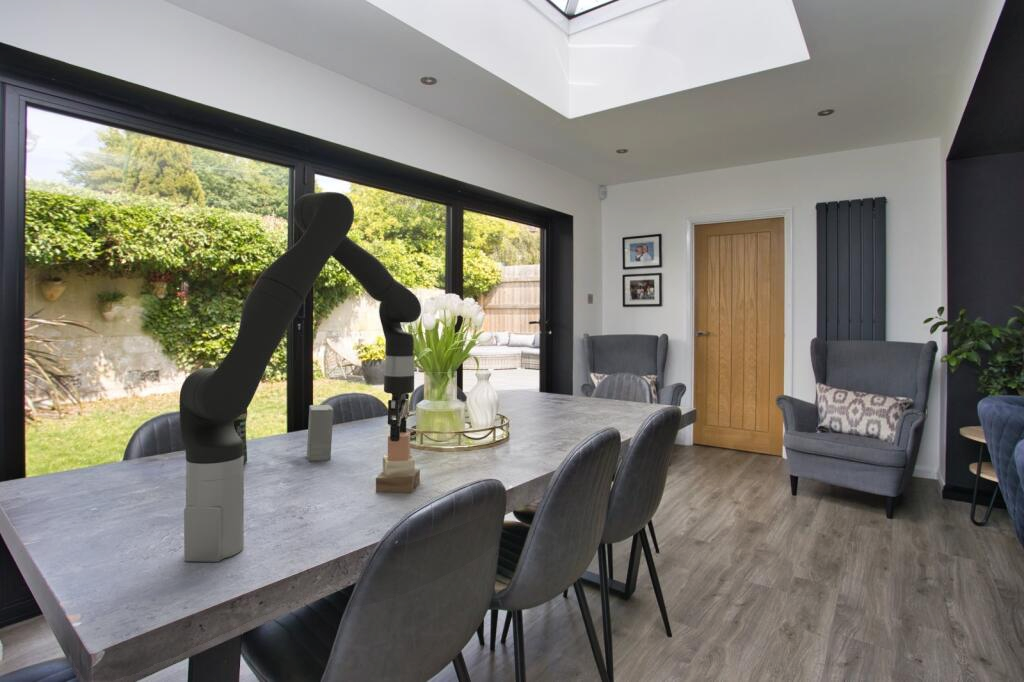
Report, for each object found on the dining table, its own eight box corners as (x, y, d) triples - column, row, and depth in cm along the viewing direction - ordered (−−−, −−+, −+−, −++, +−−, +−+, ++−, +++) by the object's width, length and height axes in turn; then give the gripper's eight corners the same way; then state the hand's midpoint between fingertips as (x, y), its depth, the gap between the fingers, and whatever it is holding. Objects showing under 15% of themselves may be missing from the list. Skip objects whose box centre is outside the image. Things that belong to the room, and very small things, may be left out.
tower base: (411, 494, 136) (411, 478, 136) (375, 493, 137) (375, 477, 136) (419, 484, 145) (419, 469, 145) (385, 483, 146) (385, 468, 145)
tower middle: (414, 475, 139) (414, 460, 138) (386, 478, 136) (386, 462, 136) (409, 468, 145) (409, 453, 145) (382, 471, 143) (382, 455, 143)
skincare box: (306, 455, 172) (306, 405, 171) (330, 453, 175) (330, 403, 174) (308, 462, 164) (308, 409, 163) (333, 460, 167) (333, 407, 166)
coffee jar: (232, 471, 153) (232, 404, 152) (205, 469, 154) (205, 403, 153) (252, 462, 163) (252, 399, 162) (227, 461, 164) (227, 398, 163)
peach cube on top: (407, 460, 138) (408, 436, 138) (387, 460, 138) (387, 436, 138) (410, 455, 143) (410, 432, 143) (390, 455, 143) (390, 432, 143)
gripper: (408, 376, 132) (408, 443, 133) (418, 371, 147) (418, 432, 147) (377, 376, 132) (376, 443, 133) (390, 371, 147) (389, 431, 147)
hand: (398, 437), depth 140 cm, fingers open, 8 cm apart
